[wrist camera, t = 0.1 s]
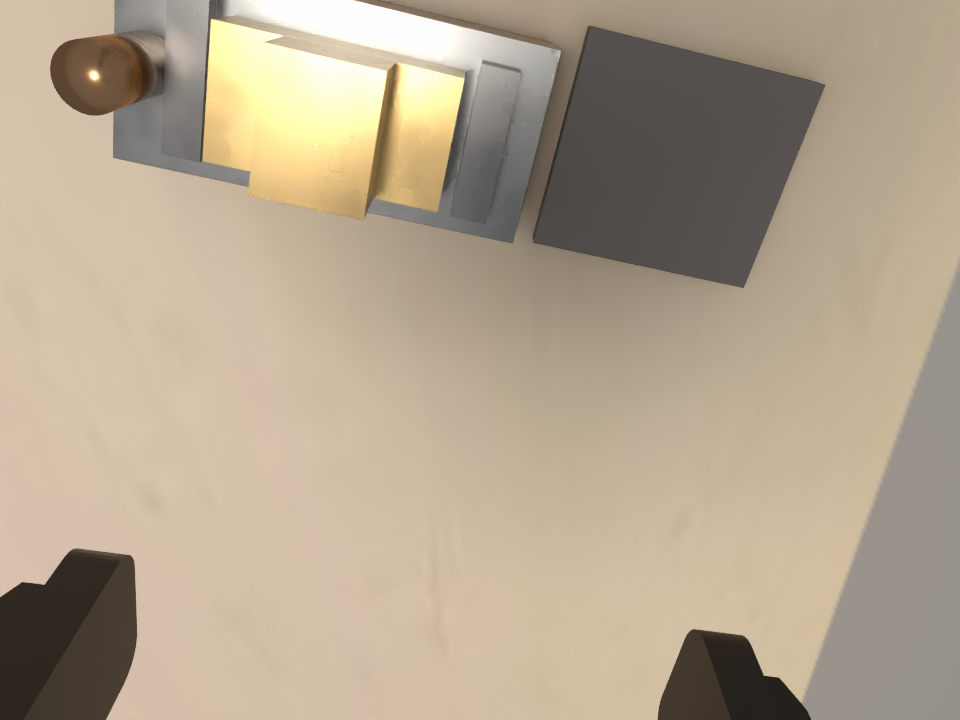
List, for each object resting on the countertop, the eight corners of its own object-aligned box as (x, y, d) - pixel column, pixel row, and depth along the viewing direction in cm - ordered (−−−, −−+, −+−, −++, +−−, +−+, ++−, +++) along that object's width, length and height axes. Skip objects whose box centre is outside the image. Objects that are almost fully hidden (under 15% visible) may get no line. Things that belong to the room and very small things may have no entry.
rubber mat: (588, 26, 34) (590, 26, 33) (818, 82, 35) (825, 84, 34) (532, 237, 38) (533, 242, 38) (738, 282, 39) (743, 287, 39)
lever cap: (235, 15, 29) (181, 23, 24) (465, 70, 30) (463, 89, 25) (225, 145, 31) (173, 179, 26) (440, 192, 32) (433, 235, 27)
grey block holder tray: (164, -52, 33) (47, -65, 24) (549, 41, 34) (576, 63, 25) (158, 135, 36) (53, 186, 27) (508, 212, 38) (518, 284, 29)
